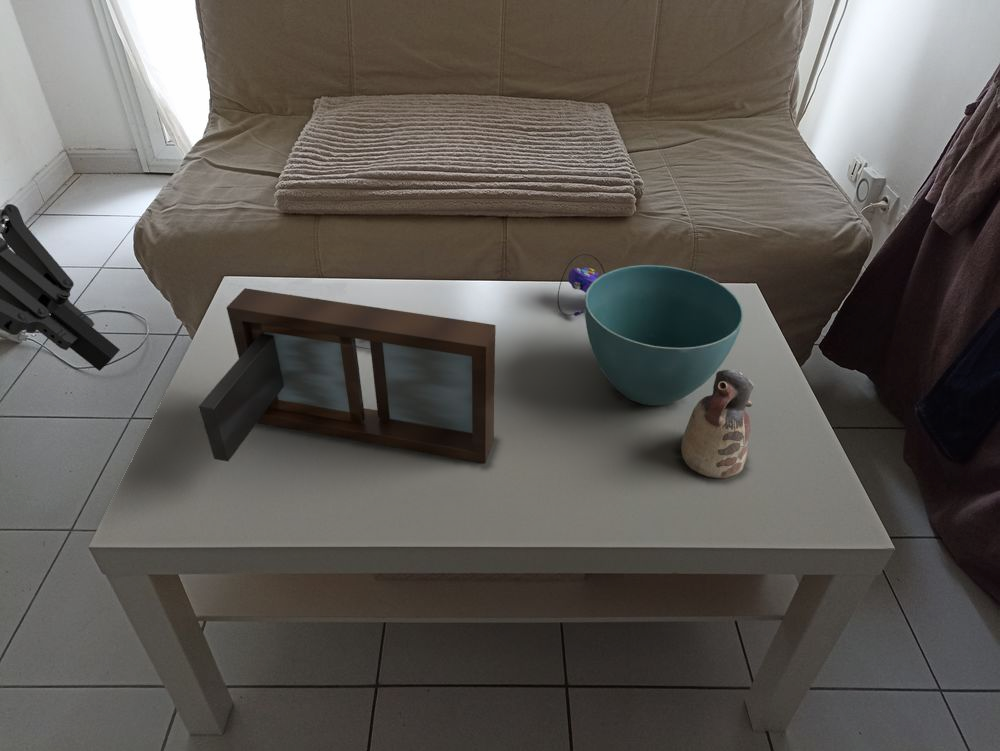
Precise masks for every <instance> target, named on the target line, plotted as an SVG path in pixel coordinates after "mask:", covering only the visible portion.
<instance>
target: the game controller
mask: <svg viewBox="0 0 1000 751" xmlns="http://www.w3.org/2000/svg"><path fill="white" fill-rule="evenodd" d="M580 256H589V257H592V258H593V259H595V260H596V261H597V262H598V264H599V265H600V267H601V269H602V271H603V273H602V274H601V275H600V276H602V275H604V274H606V272H605V270H604V267H603V264H602V263H601V262H600V261H599V259H597V258H596V257H595V256H593V255H591V254H587V253H583V254H579V255H577V256H576V257H574V258H573V259H572V260H571V261H570V262H569V263H568V265H567V267H566V268H565V269H564V272H563V274H562V277H561V278H560V279H561V280H560V283H559V285H558V291H557V299H559V295H560V289H561V284H562V281H563V278H564V276H565V274H566V272H567V270H568V268H569V266H570V265H571V263H572V262H573V261H574V260H575V259H577V258H579V257H580ZM598 277H599V272H597V271H596V270H595V269H593V268H592V267H591V268H590V267H583V268H580V267H575V268H572V269H570V271H569V273H568V278H567V279H568V283H569V284H570V285H571V287H572V289H573V290H578V291H579V290H580V291H582V292H584V293H586V292H587V290H588V288H589V286H590V285H591V284H592V282H593V281H595V280H596V279H597V278H598ZM559 301H560V300H557V306H558V310H559V311H560V313H561V314H562V315H565V316H568V317H569V316H570V317H571V316H574V317H579V316H580V315H581V316H582V315H583V314H584V310H583V309H582V310H577V311H574V312H573V314H566V313H564V312H563V311H562V310H561V308H560V307H561V306H560V303H559Z"/></svg>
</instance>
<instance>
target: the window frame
mask: <svg viewBox="0 0 1000 751" xmlns="http://www.w3.org/2000/svg"><path fill="white" fill-rule="evenodd" d="M226 311H227V316H228V319H229V323H230V324H229V325H230V327H231V328H230V329H231V331H232V336H233V340H234V343H235V348H236V352H237V357H238V359H239V358H240V357H241V356H242V355H243V354H244V352H245V351H246V350H247V349H248V348H249V347H250V345H251V344H252V343H253V342H254V339H253V335H252V330H251V326H250V322H252V323H258V324H265V325H271V326H278V327H284V328H291V329H297V330H304V331H310V332H316V333H323V334H329V335H336V336H342V337H349V338H355V339H362V340H368V341H370V348H371V349H370V356H371V366H372V374H373V381H374V382H373V384H374V392H375V399H376V400H375V401H376V409H371V408H365V407H364V414H365V420H364V422H363V424H359V423H354V422H349V421H343V420H337V419H332V418H326V417H320V416H315V415H309V414H303V413H297V412H292V411H286V410H280V409H274V408H269V407H268V409H267V410H266V411H265V413H264V414H263V415H262V417H261V418H260V419H259V421H258V422H257V423H256V424H262V425H263V424H264V425H269V426H275V427H279V428H286V429H291V430H297V431H302V432H308V433H312V434H313V433H314V434H319V435H324V436H329V437H330V436H331V437H334V438H335V437H336V438H342V439H347V440H351V441H352V440H353V441H357V442H364V443H369V444H375V445H379V446H385V447H390V448H391V447H392V448H397V449H402V450H409V451H414V452H419V453H424V454H430V455H435V456H441V457H448V458H453V459H458V460H459V459H460V460H464V461H469V462H475V463H479V464H480V463H481V464H486V463H487V460H488V457H489V454H490V451H491V449H492V447H493V444H494V443H493V442H494V440H495V392H496V391H495V390H496V388H495V386H496V381H495V380H496V375H495V374H496V327H497V325H496V324H493V323H486V322H478V321H473V320H472V321H471V320H465V319H458V318H452V317H446V316H445V317H443V316H439V315H438V316H437V315H430V314H424V313H417V312H411V311H410V312H409V311H403V310H397V309H391V308H390V309H389V308H384V307H375V306H370V305H369V306H368V305H362V304H355V303H350V302H341V301H335V300H330V299H329V300H328V299H322V298H315V297H307V296H300V295H294V294H287V293H280V292H274V291H267V290H259V289H253V288H247V287H246V288H243V289H242V291H241V292H240V293H239V294H238V295H236V297H234V299H233V300H232V301H231V302H230V303H229V304H228V305H227V306H226Z"/></svg>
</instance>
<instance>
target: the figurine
mask: <svg viewBox="0 0 1000 751" xmlns="http://www.w3.org/2000/svg"><path fill="white" fill-rule="evenodd" d="M754 387H755V386H754V384H753V382H752V381H751V380H750V379H749V378H747V377H746V376H745V375H744V374H743V373H742V372H741V371H740V370H736V369H722V370H717V371H716V372H715V379H714V382H713V386H712V394H711V395H706V396H703V397H702V398H701V399H700V400H699V401H698V402H697V403H696V405H695V407H694V408H693V410H692V413H691V416H690V417H689V420H688V421H687V422H688V423H687V425H686V427H685V430H684V433H683V435H682V438H681V445H680V449H681V456H682V458H683V460H684V462H685V464H686V465H687V466H688V467H689V468H690V469H691V470H692V471H694V472H696V473H698V474H699V475H703V476H704V477H705V476H706V477H709V478H713V479H727V478H730V477H734V476H736V475H738V474H739V473H740V472H741V471H742V470H743V469H744V466H745V464H746V462H747V459H748V454H749V441H750V434H751V422H750V417H749V414H748V413H747V412H746V408H750V407H752V406H753V402H752V401H750V397H751V393H752V391H753V389H754Z"/></svg>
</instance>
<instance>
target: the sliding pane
mask: <svg viewBox="0 0 1000 751" xmlns="http://www.w3.org/2000/svg"><path fill="white" fill-rule="evenodd" d="M250 326H251V330H252V335H253V339H254V342H253V343H252V344H251V345H250V347H249V348H248V349H247V350H246V351H245V352H244V354H243V355H242V356H241V357H240V358H239V357H238V359H237V361H235V363H234V364H233V365H232V366H231V367H230V369H229V370H228V371H227V372H226V373H225V375H224V376H223V377H222V378H221V379H220V380H219V381H218V383H216V384H215V386H214V387H213V389H211V390H210V392H209V393H207V395H206V396H205V398H204V399H203V400H202V401H201V403H199V405H198V410H199V414H200V416H201V420H202V423H203V426H204V427H203V428H204V430H205V433H206V436H207V440H208V443H209V447H210V449H211V450H210V451H211V454H212V456H213V459H214V460H216V461H217V460H218V461H224V462H229V461H230V460H231V459H232V457H233V456H234V454H235V453H236V452H237V450H239V448H240V447H241V445H242V444H243V442H244V441H245V440H246V438H247V437H248V436H249V434H250V433H251V432H252V430H253V429H254V428H255V427H256V425H257V424H258V423H257V422H258V421H259V419H260V418H261V417H262V415H263V414H264V413H265V411H266V410H267V409H268V407H269V408H274V409H280V410H286V411H292V412H297V413H303V414H309V415H315V416H320V417H326V418H332V419H337V420H343V421H349V422H354V423H359V424H363V422H364V420H365V414H364V408H365V406H364V399H363V398H364V397H363V390H362V381H361V375H360V366H359V359H358V351H357V350H358V349H357V346H356V341H355V338H349V337H342V336H336V335H329V334H323V333H316V332H310V331H304V330H297V329H291V328H284V327H278V326H271V325H265V324H258V323H252V322H250Z"/></svg>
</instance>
